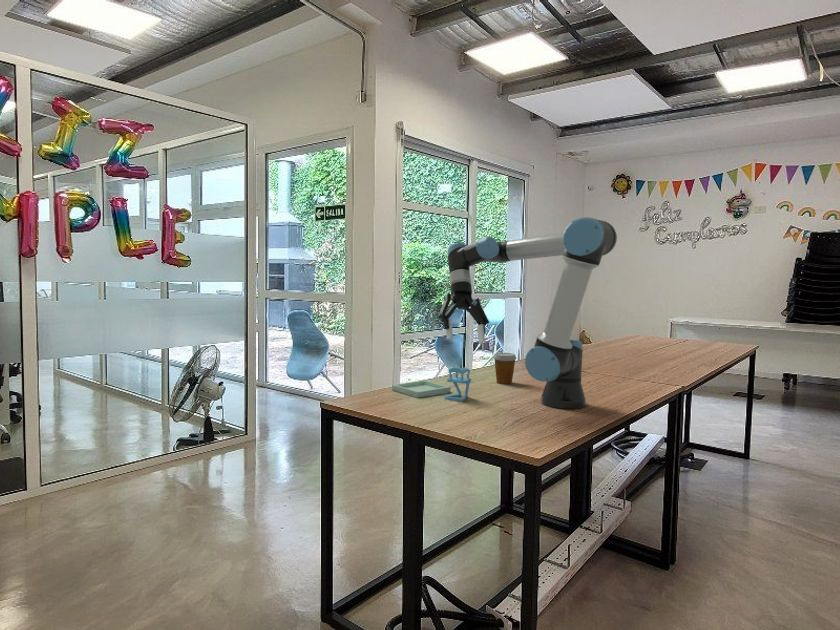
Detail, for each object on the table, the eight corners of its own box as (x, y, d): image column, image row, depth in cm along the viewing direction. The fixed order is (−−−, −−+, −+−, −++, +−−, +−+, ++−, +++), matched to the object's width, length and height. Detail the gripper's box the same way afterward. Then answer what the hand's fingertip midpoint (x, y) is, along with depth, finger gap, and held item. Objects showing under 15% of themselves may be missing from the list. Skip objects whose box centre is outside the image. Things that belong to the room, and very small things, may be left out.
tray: (424, 385, 224) (424, 380, 223) (450, 392, 211) (450, 386, 211) (391, 390, 214) (391, 384, 213) (417, 397, 201) (417, 392, 201)
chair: (473, 397, 203) (474, 365, 202) (463, 401, 196) (464, 368, 195) (454, 395, 207) (455, 363, 206) (444, 399, 200) (444, 366, 199)
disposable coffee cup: (490, 380, 236) (491, 352, 235) (512, 380, 237) (513, 352, 236) (495, 385, 226) (496, 356, 225) (518, 384, 227) (519, 355, 226)
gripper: (482, 293, 208) (488, 347, 201) (425, 283, 196) (429, 339, 188) (494, 286, 202) (501, 341, 195) (436, 274, 190) (441, 333, 182)
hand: (466, 340), depth 192 cm, fingers open, 13 cm apart
